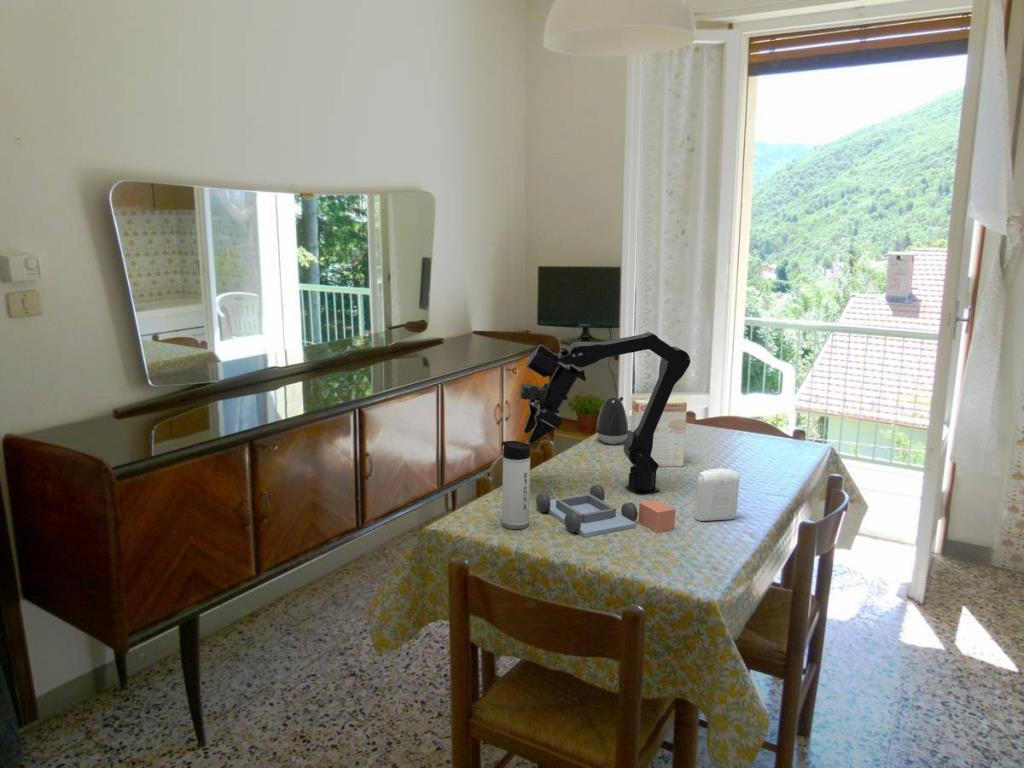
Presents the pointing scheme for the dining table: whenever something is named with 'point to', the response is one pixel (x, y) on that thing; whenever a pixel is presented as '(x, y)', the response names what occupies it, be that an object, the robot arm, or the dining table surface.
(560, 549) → the dining table surface
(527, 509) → the travel mug
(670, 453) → the coffeecake box
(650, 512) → the salmon pink brick
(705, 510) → the photo printer
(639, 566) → the dining table surface
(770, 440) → the dining table surface
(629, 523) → the chassis
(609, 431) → the dark grey tapered dome
